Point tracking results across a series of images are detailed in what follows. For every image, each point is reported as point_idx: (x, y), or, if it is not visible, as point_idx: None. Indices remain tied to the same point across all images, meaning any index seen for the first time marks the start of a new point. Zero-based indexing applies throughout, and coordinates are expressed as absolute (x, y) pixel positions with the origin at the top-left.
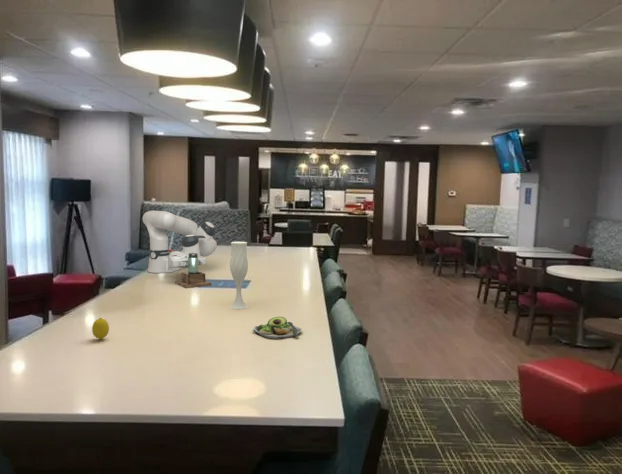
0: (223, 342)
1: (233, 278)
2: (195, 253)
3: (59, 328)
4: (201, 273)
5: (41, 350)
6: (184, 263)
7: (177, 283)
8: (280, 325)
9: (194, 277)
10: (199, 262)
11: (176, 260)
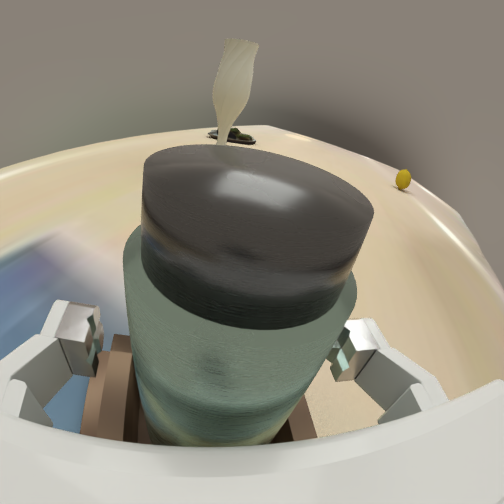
0: (290, 148)
1: (239, 113)
2: (184, 168)
3: (455, 224)
4: (129, 373)
5: (431, 198)
6: (368, 322)
7: None
8: (233, 129)
9: None
10: (92, 344)
11: (493, 391)
